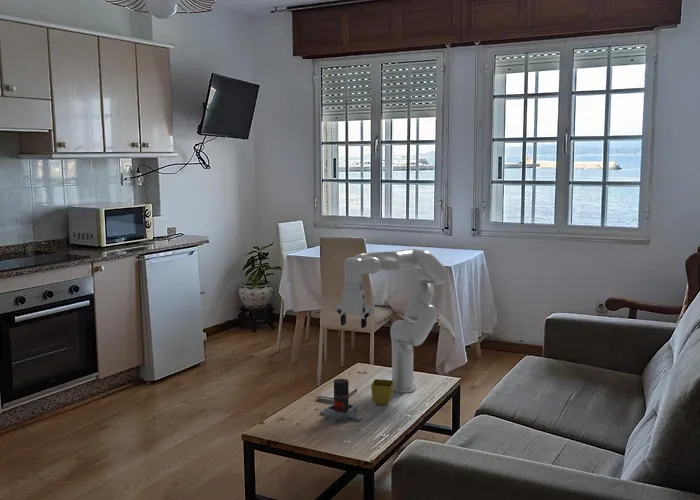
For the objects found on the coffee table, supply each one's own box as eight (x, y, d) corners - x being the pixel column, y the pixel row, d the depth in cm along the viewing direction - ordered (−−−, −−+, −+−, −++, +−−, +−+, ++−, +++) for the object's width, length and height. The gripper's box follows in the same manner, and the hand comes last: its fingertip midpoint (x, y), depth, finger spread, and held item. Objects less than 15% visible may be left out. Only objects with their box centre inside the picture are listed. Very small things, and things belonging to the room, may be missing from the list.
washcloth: (315, 401, 288) (315, 395, 288) (334, 389, 304) (334, 382, 304) (340, 406, 283) (340, 399, 283) (357, 393, 299) (357, 386, 299)
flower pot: (391, 407, 280) (391, 386, 279) (370, 406, 282) (370, 385, 281) (393, 400, 289) (394, 380, 288) (374, 398, 291) (374, 379, 289)
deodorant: (332, 414, 272) (332, 379, 270) (346, 413, 274) (345, 378, 272) (336, 420, 267) (336, 384, 265) (350, 418, 268) (350, 382, 266)
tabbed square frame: (333, 405, 282) (333, 396, 282) (370, 413, 274) (370, 404, 273) (310, 420, 267) (310, 410, 266) (350, 428, 258) (350, 418, 257)
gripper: (375, 287, 280) (375, 326, 282) (340, 283, 288) (340, 322, 291) (367, 290, 274) (367, 330, 276) (331, 286, 282) (331, 325, 284)
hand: (353, 326), depth 283 cm, fingers open, 9 cm apart
